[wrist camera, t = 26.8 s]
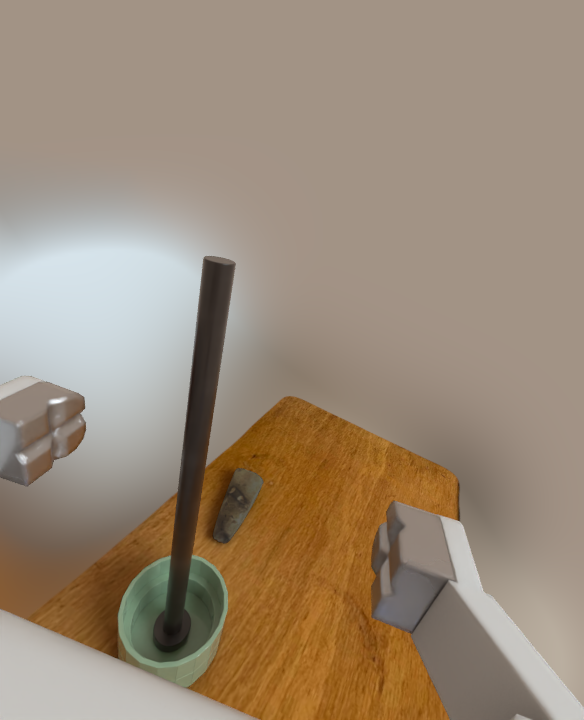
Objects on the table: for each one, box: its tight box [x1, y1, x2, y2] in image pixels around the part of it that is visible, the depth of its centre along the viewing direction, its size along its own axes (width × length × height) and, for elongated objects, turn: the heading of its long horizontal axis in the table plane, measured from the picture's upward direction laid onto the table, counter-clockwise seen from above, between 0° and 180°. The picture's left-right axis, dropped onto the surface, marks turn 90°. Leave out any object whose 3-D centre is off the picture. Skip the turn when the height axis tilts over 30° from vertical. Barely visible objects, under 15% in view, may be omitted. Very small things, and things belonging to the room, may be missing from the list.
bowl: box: [117, 555, 228, 688], centre depth 34 cm, size 10×10×6 cm
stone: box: [213, 468, 263, 543], centre depth 50 cm, size 13×5×2 cm, turn 171°
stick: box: [153, 256, 236, 652], centre depth 27 cm, size 4×4×38 cm
